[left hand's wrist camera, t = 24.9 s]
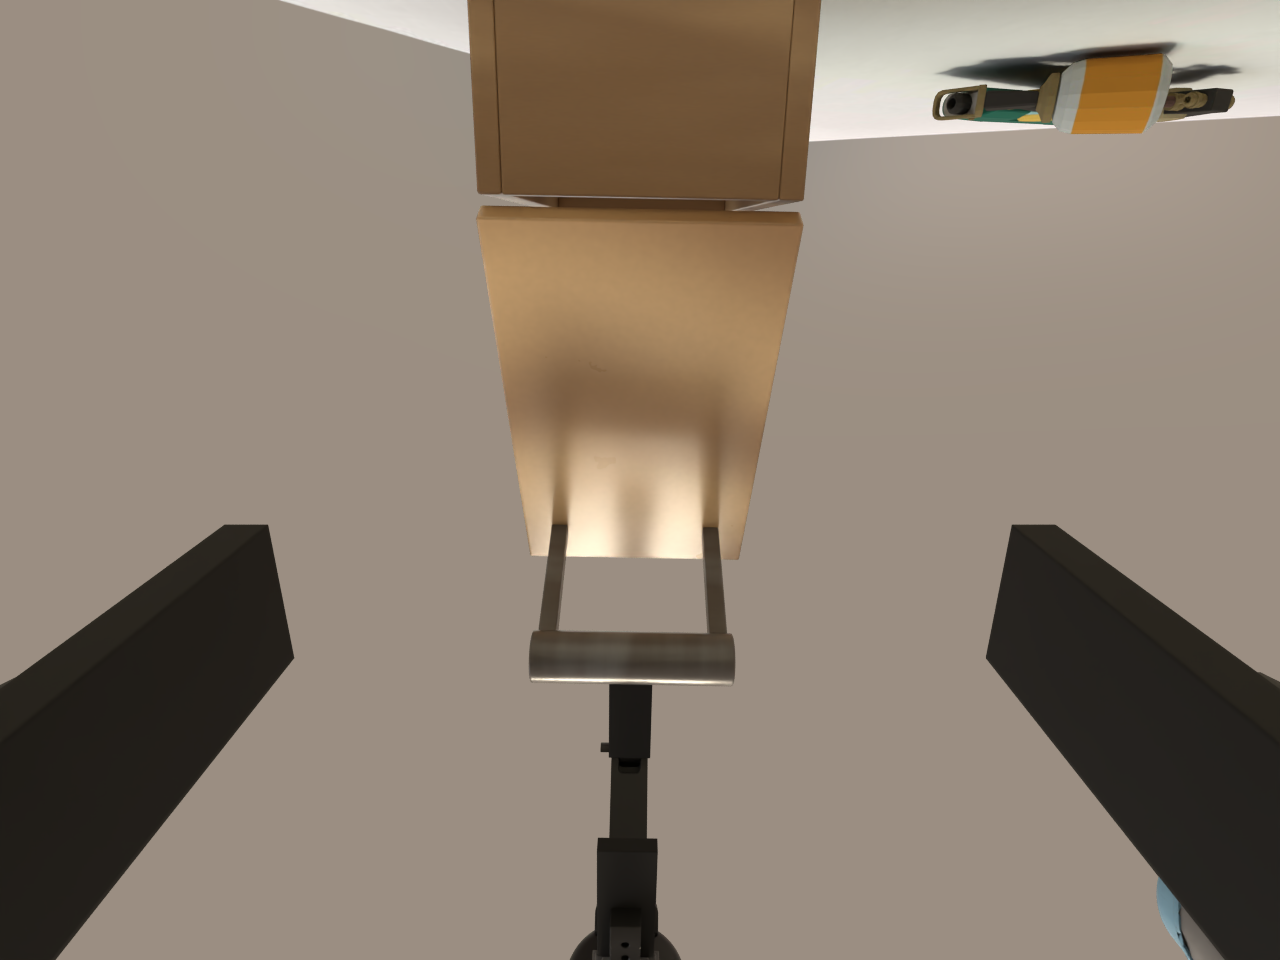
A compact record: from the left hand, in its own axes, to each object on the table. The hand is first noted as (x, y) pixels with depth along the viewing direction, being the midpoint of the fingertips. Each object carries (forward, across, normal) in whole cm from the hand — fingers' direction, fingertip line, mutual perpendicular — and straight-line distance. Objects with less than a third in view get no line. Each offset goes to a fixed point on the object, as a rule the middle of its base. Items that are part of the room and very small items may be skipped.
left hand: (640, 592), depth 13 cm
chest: (+20, 0, -17) cm, 26 cm away
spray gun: (+43, -30, -16) cm, 55 cm away
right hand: (+20, +1, +20) cm, 28 cm away
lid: (+16, 0, +1) cm, 16 cm away
